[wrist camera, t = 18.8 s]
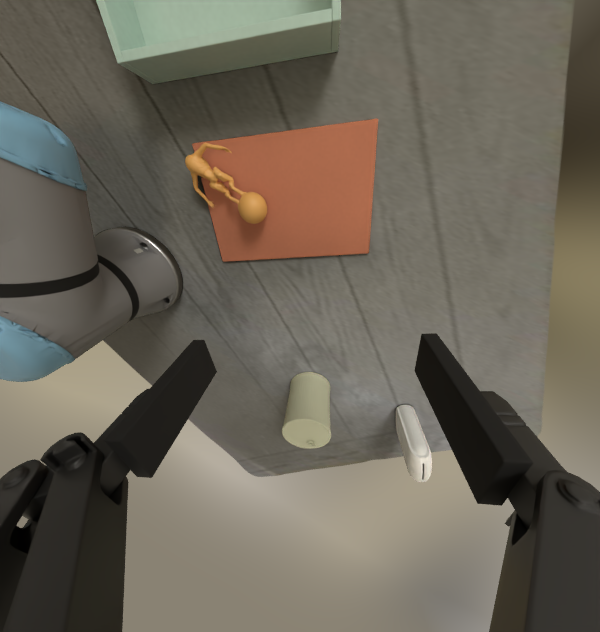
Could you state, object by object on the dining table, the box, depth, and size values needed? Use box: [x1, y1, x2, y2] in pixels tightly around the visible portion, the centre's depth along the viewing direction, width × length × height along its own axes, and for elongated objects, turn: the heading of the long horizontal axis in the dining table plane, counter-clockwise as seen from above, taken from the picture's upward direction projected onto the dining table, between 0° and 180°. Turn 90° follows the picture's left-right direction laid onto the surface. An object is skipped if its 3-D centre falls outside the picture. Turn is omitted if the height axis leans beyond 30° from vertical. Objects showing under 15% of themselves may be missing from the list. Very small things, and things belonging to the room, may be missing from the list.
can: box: [282, 372, 331, 448], centre depth 45 cm, size 9×9×12 cm
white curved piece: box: [396, 405, 432, 482], centre depth 47 cm, size 10×4×12 cm, turn 13°
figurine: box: [185, 143, 267, 224], centre depth 30 cm, size 8×6×12 cm
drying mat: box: [192, 119, 378, 262], centre depth 32 cm, size 24×16×1 cm, turn 95°
